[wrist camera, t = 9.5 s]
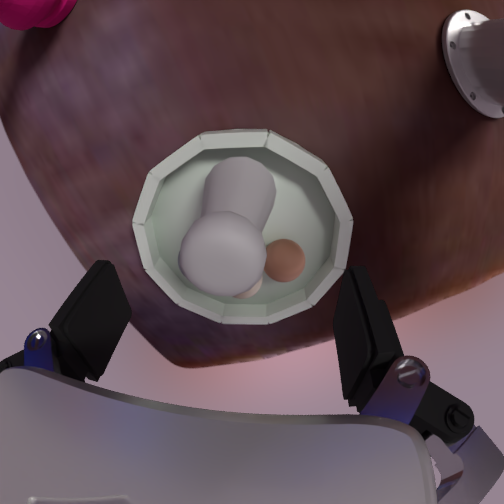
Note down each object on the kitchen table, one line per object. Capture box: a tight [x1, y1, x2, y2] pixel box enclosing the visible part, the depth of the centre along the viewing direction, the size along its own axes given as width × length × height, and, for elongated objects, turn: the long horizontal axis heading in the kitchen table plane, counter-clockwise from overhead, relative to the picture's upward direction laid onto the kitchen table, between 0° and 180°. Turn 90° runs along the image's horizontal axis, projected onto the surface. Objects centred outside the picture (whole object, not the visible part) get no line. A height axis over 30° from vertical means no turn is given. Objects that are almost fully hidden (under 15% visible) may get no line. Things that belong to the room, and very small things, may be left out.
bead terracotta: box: [264, 239, 305, 282], centre depth 25 cm, size 4×4×4 cm
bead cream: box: [232, 276, 263, 299], centre depth 27 cm, size 4×4×4 cm
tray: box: [132, 129, 353, 324], centre depth 26 cm, size 20×20×3 cm
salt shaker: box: [179, 157, 277, 296], centre depth 18 cm, size 6×6×13 cm
